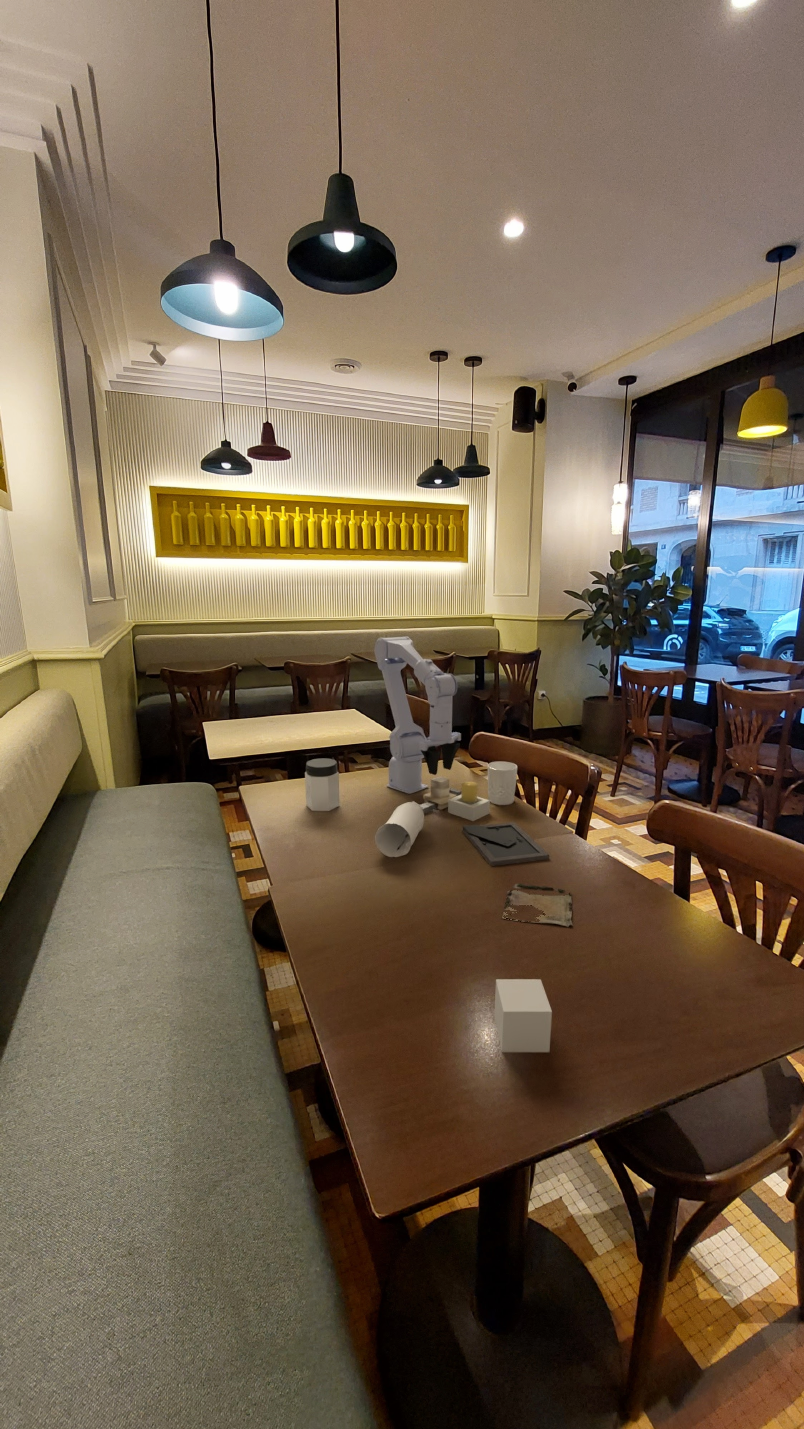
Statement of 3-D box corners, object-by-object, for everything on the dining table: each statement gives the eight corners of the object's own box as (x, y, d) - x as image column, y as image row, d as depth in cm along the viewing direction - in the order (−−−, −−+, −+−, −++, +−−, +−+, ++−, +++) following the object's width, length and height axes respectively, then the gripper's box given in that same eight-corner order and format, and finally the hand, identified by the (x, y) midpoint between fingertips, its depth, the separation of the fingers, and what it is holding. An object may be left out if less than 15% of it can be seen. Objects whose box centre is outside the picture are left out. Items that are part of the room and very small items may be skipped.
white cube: (501, 1053, 72) (503, 1011, 71) (494, 1018, 78) (495, 979, 77) (549, 1052, 72) (552, 1011, 71) (538, 1017, 78) (540, 979, 77)
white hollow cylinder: (431, 826, 140) (431, 795, 139) (410, 860, 123) (410, 825, 121) (399, 822, 143) (400, 792, 141) (374, 855, 125) (374, 821, 123)
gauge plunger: (458, 799, 148) (458, 784, 147) (467, 795, 150) (468, 780, 150) (470, 803, 145) (471, 788, 144) (480, 798, 148) (480, 784, 147)
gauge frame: (448, 812, 149) (448, 799, 148) (464, 805, 154) (465, 792, 153) (473, 821, 143) (473, 807, 143) (489, 813, 148) (490, 800, 147)
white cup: (480, 798, 159) (481, 763, 157) (504, 794, 162) (506, 759, 160) (497, 808, 152) (498, 771, 150) (521, 803, 155) (523, 767, 153)
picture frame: (462, 833, 138) (490, 868, 121) (462, 825, 137) (491, 859, 120) (513, 828, 141) (548, 861, 124) (514, 820, 140) (549, 852, 123)
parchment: (572, 893, 110) (572, 888, 110) (573, 931, 98) (573, 926, 98) (507, 884, 114) (507, 880, 113) (500, 920, 101) (500, 915, 101)
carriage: (423, 803, 154) (423, 779, 152) (437, 798, 158) (438, 774, 157) (441, 810, 150) (442, 784, 148) (456, 803, 154) (456, 779, 152)
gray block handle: (400, 816, 146) (400, 807, 145) (451, 796, 160) (451, 788, 159) (411, 820, 144) (411, 811, 143) (461, 799, 158) (461, 791, 157)
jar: (302, 803, 155) (300, 760, 153) (331, 797, 159) (329, 756, 156) (313, 814, 148) (312, 769, 145) (343, 808, 151) (342, 764, 149)
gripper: (434, 728, 141) (433, 781, 144) (470, 718, 151) (469, 768, 154) (413, 723, 146) (412, 775, 149) (449, 714, 156) (448, 762, 159)
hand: (440, 771), depth 152 cm, fingers open, 5 cm apart
